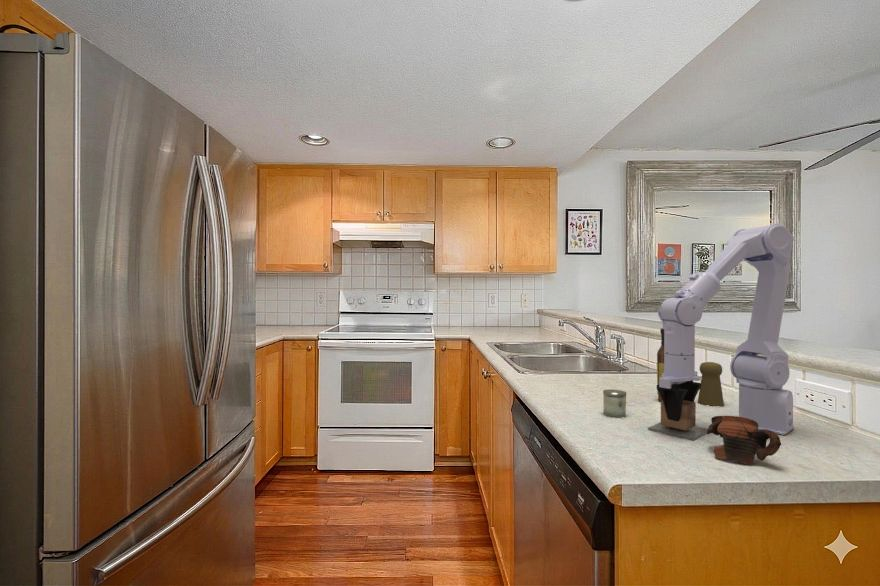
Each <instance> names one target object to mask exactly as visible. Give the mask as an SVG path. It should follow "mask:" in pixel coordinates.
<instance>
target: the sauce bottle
mask: <svg viewBox="0 0 880 586" xmlns="http://www.w3.org/2000/svg"><path fill="white" fill-rule="evenodd" d="M660 335H661V338H660V339H661V342H660V343H661V344H660V347H659V348H658V350H657V354H656V381H657V382H656V384H657V385H658V384H659V378H661V377H662V375H663V373H664V329H663V327H661V328H660ZM657 385H656V386H657ZM656 390H657V389H656ZM657 400H658V401H659V402H661V401H663V400H662V398H661V396H660V394H659V392H658V390H657Z"/></svg>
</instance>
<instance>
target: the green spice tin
mask: <svg viewBox="0 0 880 586" xmlns="http://www.w3.org/2000/svg"><path fill="white" fill-rule="evenodd" d="M602 394H603V415H604V416H606V417H609V418H613V417H615V418H614V419H616V418H617V419H623V418H622V417H624V418H626V416H627V407H626V406H627V400H626V399H627V392H626V391H625V390H622V389H621V390H620V389H611V388H610V389H609V388H608V389H603V391H602Z"/></svg>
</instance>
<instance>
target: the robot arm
mask: <svg viewBox="0 0 880 586" xmlns="http://www.w3.org/2000/svg"><path fill="white" fill-rule="evenodd" d="M726 243H727V244H726V246H725V247H724V248H723V250H721V252H720V253H719V254H718V256H717V257H716V258H715V259H714V260H713V262H711V264H710V265H709V266H708V267H707V269H706V270H705V271H699V272H696V273H691V275H689V277H688V279H689V280H688V281H687V282H686V283H685V284H684V285H683V286H682V287H681V288H680V289H679V290H676V291H675V293H674V296H673V297H670V298H667V299H665V300H663V302H662V303H661V305H660V308H659V309H658V310H657V314H658V315H657V316H658V319H659V320H660V321H661V322H662V328H663V329H664V373H663V375H662V377H661V378H659V384H658V385H656V390H658V392H659V394H660V396H661V398H662V400H663V403H664V406H665V410H666V414H667V418H668V419H669V420H674V421H679V420H680V416H681V409H682V403H683V400H685V401H691V402H695V399H696V397H697V395H698V394H699V391H700V388H701V382H699V381H701V378H702V376H699V375H698V371H697V370H695V369H696V368H695V367H696V366H695V365H696V364H695V363H696V359H695V358H696V357H695V355H696V354H695V353H696V352H695V351H696V349H695V346H696V344H695V343H696V342H695V341H696V340H695V336H696V335H695V333H696V330H695V328H696V324H697V323H698V322H700V320H701V319H702V317H703V311H704V309H705V306H706V305H707V304H708V303H709V302H710V301H711V300H712V299H713V298H714V297H715V296H716V295H717V293H718V292H720V290H721V282H720V281H722V280H723V279H725V277H727V275H728V274H730V273H731V272H733V270H734V269H735V268H736V267H737V266H739V264H740V263H742V261H745V263H747V264H748V265H750V266H752V267H754V268H755V270H756V271H757V272H758V274H757V282H756V285H755V286H756V287H755V293H754V298H753V299H754V300H753V305H752V311H751V317H750V322H749V326H748V327H749V328H748V335H747V339H746V340H745V341H743V342H742V343H741V344H739V345H738V346H737V347H736V349H735V351H736V352H735V354H734V356H733V357H732V358H731V361H730V365H729V368H730V372H731V374H732V375H731V376H732V377H733V378H735V379H736V380H735V381H736V383H738V417H744V418H748V419H751V420H754V421H756V422H757V423H758V425H759V426H758V429H759V430H762V429H767V430H771V431H773V432H775V433H776V434H777V435H783V436H785V435H787V434H788V433H789V432H790V431H792V430H793V429H794V428H795V427H794V396H793V395H794V394H793V392H792V391H791V390H790V389H789V390H788V389H783V386H785V385H786V384H787V382H788V381H789V378H790V367H789V357H790V356H789V354H788V353H787V352H786V351H785V350H784V349H783V348H782V347H780V345H779V339H780V338H779V337H780V333H781V326H782V322H783V321H782V319H783V315H784V308H785V302H786V296H787V290H788V283H789V278H790V272H791V256H792V249H793V244H794V236H793V235H792V234H791V232H790V230H789V229H788V228H787V227H786V226H785V225H783V224H782V223H772V224H770V225H764V226H758V227H752V228H742V229H738V230H736V231H735V232H734V233H733V234H732V236H730V237H729V238H728V239H727V242H726ZM762 355H764V356H762Z"/></svg>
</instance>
